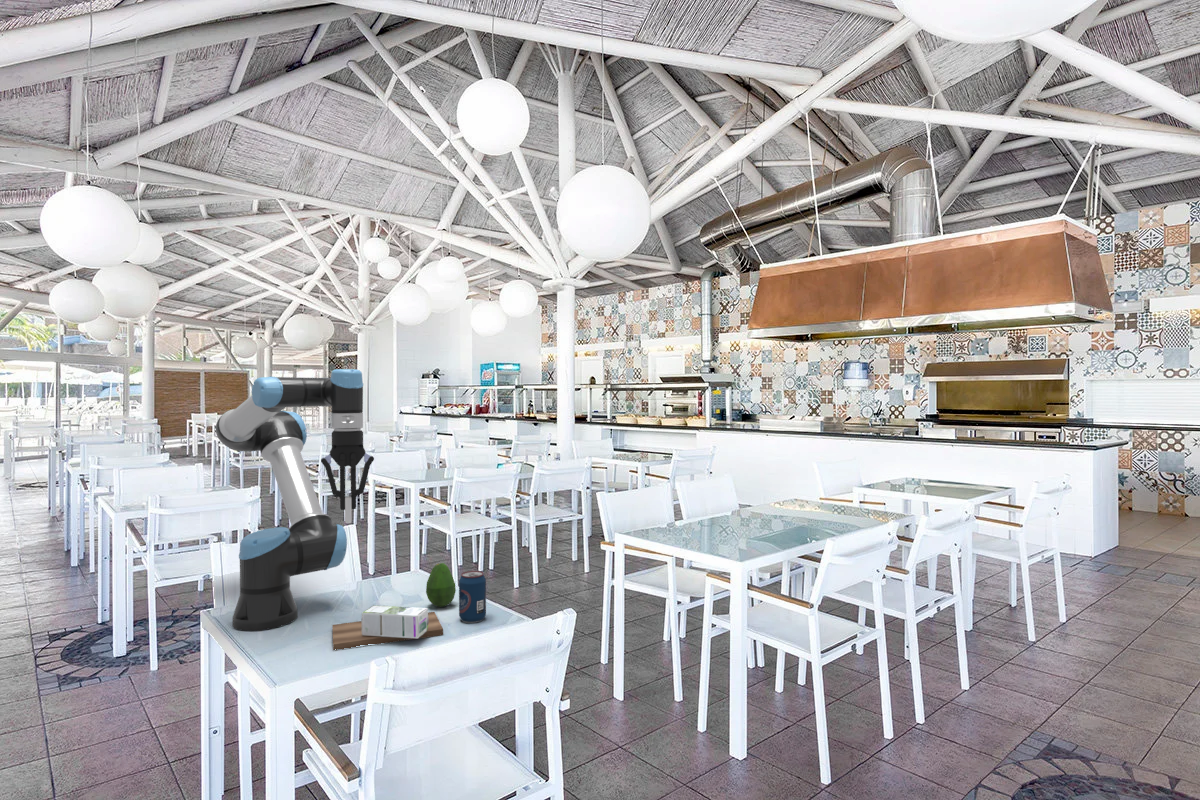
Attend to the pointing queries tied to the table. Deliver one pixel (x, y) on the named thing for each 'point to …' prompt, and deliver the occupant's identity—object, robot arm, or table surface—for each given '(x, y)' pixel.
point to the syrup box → (395, 621)
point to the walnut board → (352, 636)
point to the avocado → (440, 586)
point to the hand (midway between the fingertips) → (348, 522)
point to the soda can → (472, 596)
